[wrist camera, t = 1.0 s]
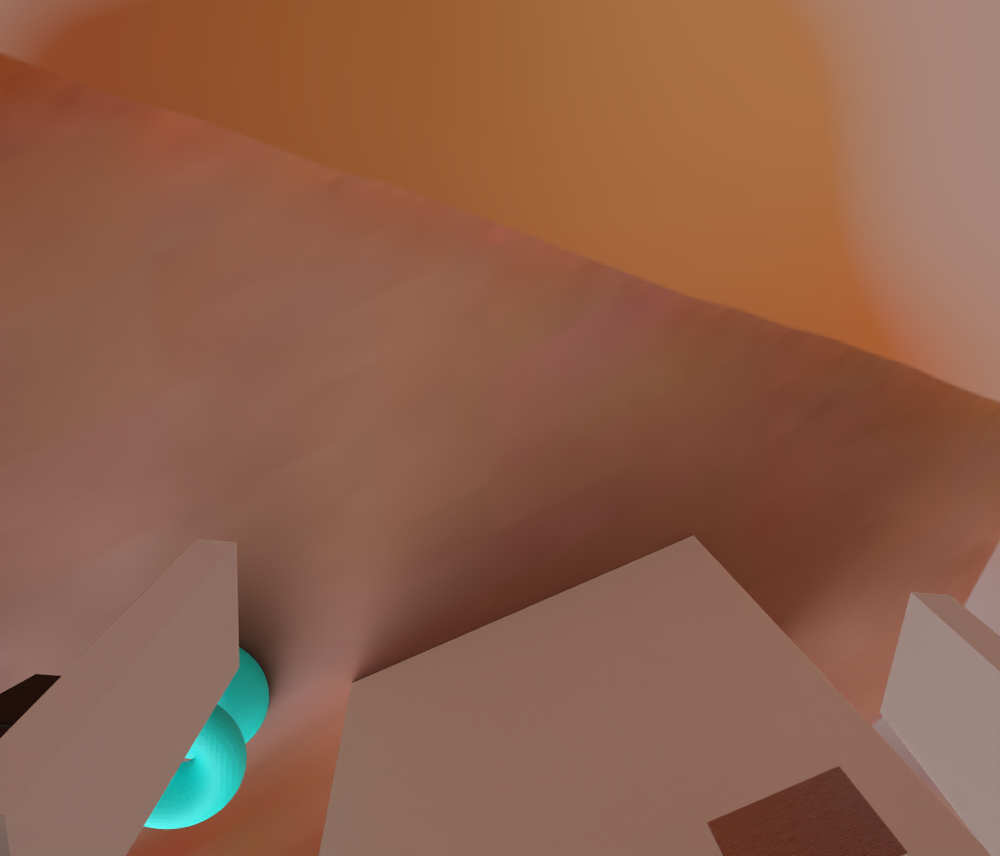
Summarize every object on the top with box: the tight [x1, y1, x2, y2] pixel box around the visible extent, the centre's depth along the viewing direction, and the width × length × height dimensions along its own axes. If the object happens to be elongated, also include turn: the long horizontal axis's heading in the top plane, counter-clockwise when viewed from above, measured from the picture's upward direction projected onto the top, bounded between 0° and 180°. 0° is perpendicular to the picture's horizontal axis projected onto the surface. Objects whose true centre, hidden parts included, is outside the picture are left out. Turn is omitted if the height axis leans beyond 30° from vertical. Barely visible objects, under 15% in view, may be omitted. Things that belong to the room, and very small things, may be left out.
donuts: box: [144, 647, 269, 829], centre depth 52 cm, size 10×10×10 cm
